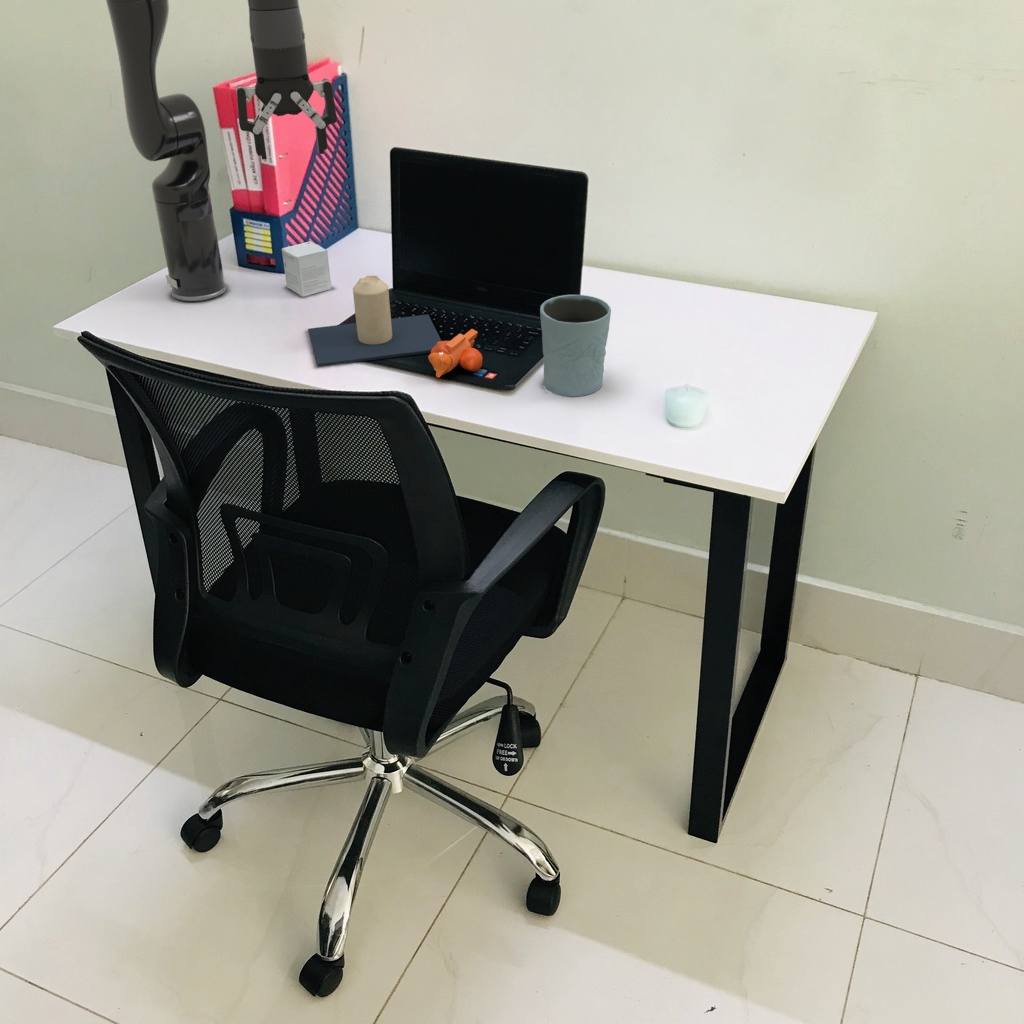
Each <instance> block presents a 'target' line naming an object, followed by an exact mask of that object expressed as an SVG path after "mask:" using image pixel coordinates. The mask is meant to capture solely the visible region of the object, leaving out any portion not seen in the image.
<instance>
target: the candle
mask: <svg viewBox="0 0 1024 1024" xmlns="http://www.w3.org/2000/svg"><path fill="white" fill-rule="evenodd" d="M352 294H353V305H354V315H355V323H356V325H357V334H358V339H359V341H360V342H362V343H364V344H370V345H376V344H382V343H385V342H388V341H389V340H391V338H392V326H391V319H392V315H391V304H390V293H389V285H388V284H387V283H386V282H385V281H383V280H382V279H381V278H379V277H378V275H366V276H365V277H363V278H362V277H360V278H359V279H358V281H357V282H356V283H355V284H354V285H353V286H352Z"/></svg>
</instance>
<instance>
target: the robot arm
mask: <svg viewBox="0 0 1024 1024" xmlns="http://www.w3.org/2000/svg"><path fill="white" fill-rule="evenodd" d="M169 2H170V1H169V0H105V3H106V6H107V10H108V14H109V19H110V23H111V27H112V31H113V36H114V41H115V46H116V50H117V56H118V62H119V67H120V75H121V83H122V92H123V99H124V107H125V115H126V121H127V126H128V130H129V135H130V136H131V140H132V143H133V145H134V147H135V149H136V150H137V152H138V153H139V155H140V156H141V157H143V158H144V159H145V160H147V161H150V162H158V161H162V160H163V161H164V160H166V159H169V160H168V163H167V164H166V166H165V167H164V169H163V170H162V171H161V172H160V173H159V174H158V175H157V176H156V177H154V179H153V180H152V182H151V192H152V196H153V201H154V206H155V211H156V216H157V220H158V225H159V232H160V237H161V241H162V247H163V251H164V258H165V263H166V269H167V272H168V275H167V274H166V275H165V278H166V283H167V284H168V285H169V286H170V292H171V295H172V297H173V298H174V299H175V300H178V301H184V302H202V301H208V300H211V299H215V298H217V297H219V296H221V295H223V294H224V293H226V291H227V283H226V282H225V277H224V270H223V263H222V257H221V253H220V246H219V240H218V234H217V233H218V232H217V227H216V221H215V217H214V211H213V205H212V199H211V193H210V186H209V184H210V179H211V168H210V167H211V166H210V158H209V151H208V140H207V133H206V127H205V123H204V119H203V116H202V115H203V114H202V113H201V111H200V108H199V106H198V104H197V103H196V102H195V101H194V100H193V99H192V98H191V97H190V96H188V95H187V94H185V93H173V94H168V95H164V96H159V92H158V83H157V64H158V63H157V62H158V57H159V52H160V49H161V45H162V43H163V39H164V36H165V32H166V29H167V24H168V19H169V15H170V3H169ZM247 6H248V7H247V8H248V15H249V16H248V24H249V25H248V26H249V33H250V34H249V35H250V36H249V37H250V42H251V48H252V56H253V63H254V70H255V76H256V84H255V85H254V86H244V85H242V84H239V85H237V86H236V88H235V92H236V104H237V114H238V125H239V129H240V130H241V131H242V132H250V133H251V134H252V135H253V140H254V148H255V153H256V155H257V156H258V157H261V160H263V161H264V160H267V159H268V158H267V157H268V156H267V150H266V142H265V136H264V130H263V129H264V128H265V126H266V124H267V123H268V122H269V120H270V118H271V117H272V115H275V116H277V117H283V116H286V115H292V116H296V115H299V114H301V113H302V112H303V113H304V114H305V115H306V116H307V117H308V118H309V119H310V120H311V121H312V122H313V124H315V126H314V129H315V138H316V147H317V153H318V154H319V155H324V154H325V151H326V150H328V139H327V138H328V137H327V128H328V126H330V125H332V124H336V123H337V121H338V117H337V109H336V104H335V98H334V91H333V86H332V82H330V80H329V79H328V78H323V79H322V80H321V81H312V80H310V79H311V78H310V74H309V67H308V57H307V49H306V47H307V46H306V33H305V31H304V23H303V18H302V14H301V10H300V3H299V0H247ZM314 91H316V92H317V94H318V96H319V97H321V98H323V101H324V105H325V106H324V107H325V112H326V114H324V115H322V116H321V115H320V114H319V112H318V111H317V110H316V109H315V108H314V107H313V105H312V104H311V103H310V102H309V100H310V98H311V97H312V95H313V93H314ZM253 96H256V98H257V99H258V100H259V101H260V103H262V105H261V107H260V109H259V110H258V113H257V115H256V117H255V119H254V121H251V120H249V119H248V118H249V117H248V107H247V104H249V103H251V102H252V98H253Z"/></svg>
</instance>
